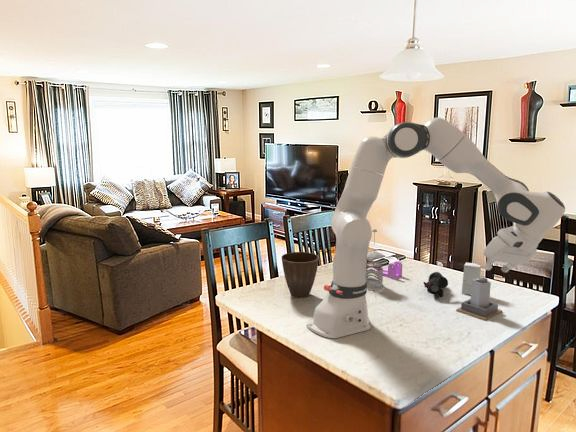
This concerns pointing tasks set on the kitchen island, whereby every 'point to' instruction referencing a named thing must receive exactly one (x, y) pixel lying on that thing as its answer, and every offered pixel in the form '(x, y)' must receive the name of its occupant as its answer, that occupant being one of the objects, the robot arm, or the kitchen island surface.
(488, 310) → the collar
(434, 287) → the night vision scope
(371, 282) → the french press
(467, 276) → the skincare box
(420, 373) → the kitchen island surface
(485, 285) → the cap block
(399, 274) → the bracket
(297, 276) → the plant pot
